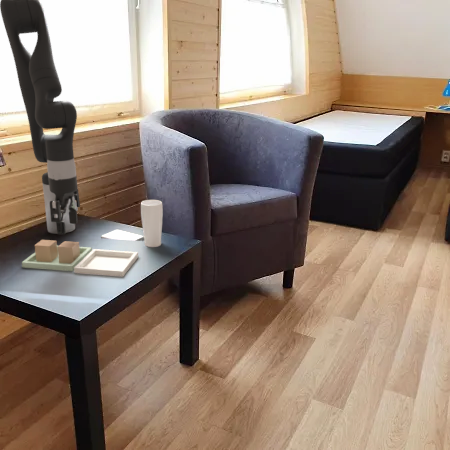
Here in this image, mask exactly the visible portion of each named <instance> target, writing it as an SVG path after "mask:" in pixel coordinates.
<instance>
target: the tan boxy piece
mask: <svg viewBox="0 0 450 450" xmlns="http://www.w3.org/2000/svg"><path fill="white" fill-rule="evenodd" d="M57 245H58V244H57V240H52V239H51V240H50V239H40V241H38V242H37V243H36V244H34V253H36V261H43V262H52V261H53V260H54V259H55V258H56V257H58V251H57Z"/></svg>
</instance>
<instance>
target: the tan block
mask: <svg viewBox="0 0 450 450" xmlns="http://www.w3.org/2000/svg"><path fill="white" fill-rule="evenodd" d="M79 247H80V241H68V240H66V241H65V240H64V241H63V242H62V243H60V244H59V246H58V256H59V263H72V262H73V261H75V260H76V259H77V258H78V257H79V256H80V248H79Z"/></svg>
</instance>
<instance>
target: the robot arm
mask: <svg viewBox="0 0 450 450" xmlns="http://www.w3.org/2000/svg"><path fill="white" fill-rule="evenodd" d="M0 14H1V18H2V21H3V25H4V28H5V32H6V35H7V38H8V42H9V44H10V49H11V52H12V53H11V54H12V56H13V60H14V65H15V69H16V74H17V78H18V84H19V85H18V86H19V88H20V93H21V97H22V100H23V103H24V108H25V112H26V115H27V120H28V125H29V126H28V127H29V130H30V138H31V145H32V150H33V155H34V157H35V159H36V161H38V162H39V163H47V164H46V169H47V172H45V173H43V174H42V176H41V182H42V192H43V199H44V207H45V208H44V210H45V218H46V227H47V232H48V233H50V234H55V235H56V234H57V235H65V234H66V233H67V234H68V233H70V232H73V231H74V230H75V229H76V225H77V224H78V210H79V209H78V208H80V207H81V203H80V194H79V188H78V179H77V167H76V162H75V158H74V157H75V156H74V154H75V153H74V142H73V141H74V135H75V128H76V125H77V124H76V123H77V120H78V119H77V118H78V114H77V109H76V107H75V105H74V104H73V103H72V102H71V101H69V100H59V101H56V100H55V99H57V98H58V97H59V96H61V94H62V92H63V90H62V84H61V81H60V78H59V75H58V72H57V69H56V65H55V64H56V63H55V62H54V55H53V50H52V43H51V37H50V33H49V28H48V23H47V18H46V14H45V10H44V7H43V4H42V2H41V1H40V0H0ZM31 33H37V40H36V44H35V47H34V49H33V52H32V54H31V52H30V50H28V49H27V47H26V46H25V44H24V43H23V41H22V39H21V38H20V34H31ZM54 100H55V101H54ZM43 129H44V130H51V129H61V130H60V132H59V133H58V134H45V132H44V130H43Z"/></svg>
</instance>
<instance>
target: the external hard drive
mask: <svg viewBox="0 0 450 450" xmlns="http://www.w3.org/2000/svg"><path fill="white" fill-rule="evenodd" d="M100 238H101V239H107V240H122V241H123V240H124V241H135V242H136V241H137V242H141V241H144V235H141V234H137V233H132V232H129V231H125V230H123V229H122V230H121V229H114V230H112V231H109V232H108V233H103V234H102V235H100Z"/></svg>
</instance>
